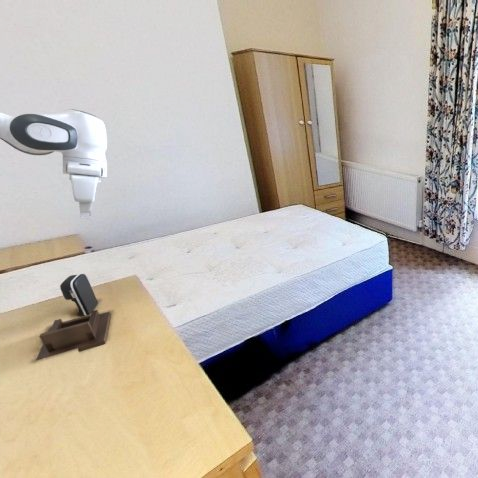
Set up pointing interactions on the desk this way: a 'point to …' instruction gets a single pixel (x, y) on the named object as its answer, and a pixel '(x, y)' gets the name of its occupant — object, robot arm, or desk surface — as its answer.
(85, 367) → the desk surface
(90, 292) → the battery charger
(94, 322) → the dock
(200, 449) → the desk surface
